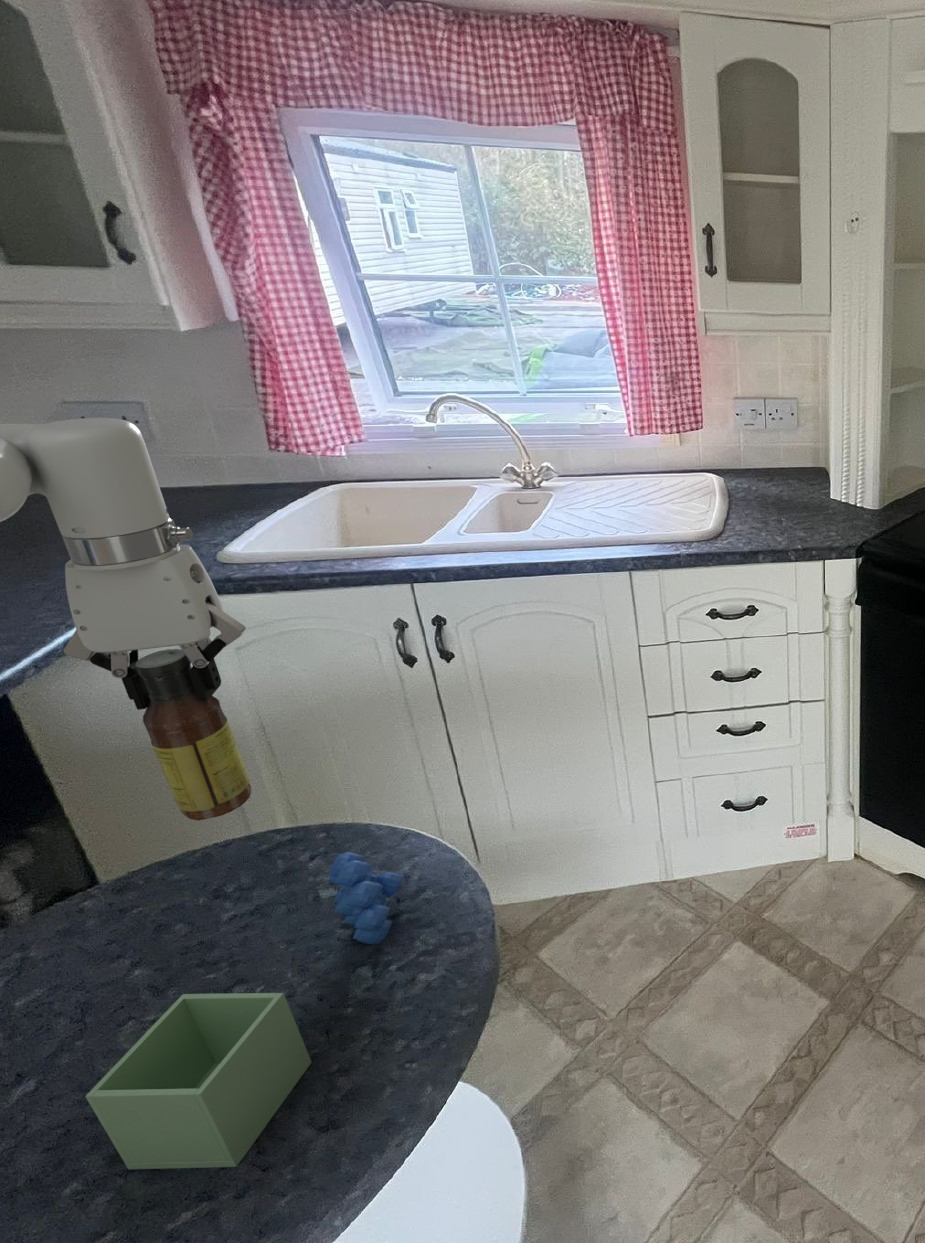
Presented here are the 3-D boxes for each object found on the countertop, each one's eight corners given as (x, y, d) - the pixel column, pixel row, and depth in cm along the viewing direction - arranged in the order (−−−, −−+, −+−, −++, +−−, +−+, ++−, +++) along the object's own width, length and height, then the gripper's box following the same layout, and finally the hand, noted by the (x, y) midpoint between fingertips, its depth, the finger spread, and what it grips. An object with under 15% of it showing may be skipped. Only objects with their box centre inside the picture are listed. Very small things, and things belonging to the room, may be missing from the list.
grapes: (434, 941, 86) (411, 861, 82) (364, 981, 82) (336, 899, 77) (397, 888, 93) (374, 812, 89) (331, 922, 88) (303, 843, 84)
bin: (127, 1169, 65) (84, 1096, 61) (216, 1063, 73) (182, 993, 69) (236, 1167, 65) (200, 1094, 62) (312, 1062, 74) (283, 992, 70)
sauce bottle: (250, 780, 91) (208, 635, 84) (256, 807, 87) (211, 657, 80) (175, 803, 87) (123, 652, 80) (177, 833, 82) (123, 677, 76)
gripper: (245, 523, 81) (288, 669, 88) (31, 538, 75) (95, 693, 82) (215, 548, 75) (264, 703, 82) (-21, 566, 69) (52, 732, 75)
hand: (179, 696), depth 81 cm, fingers closed on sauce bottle, 4 cm apart
